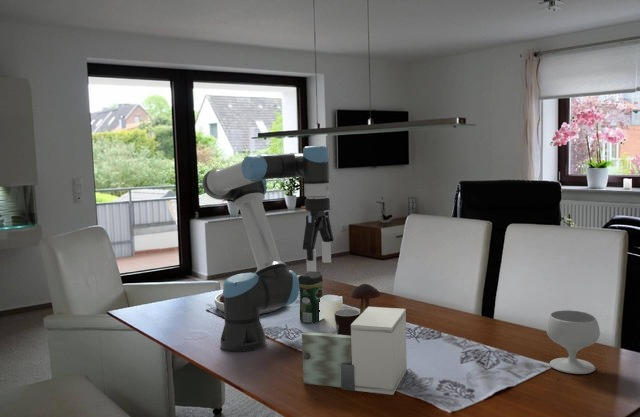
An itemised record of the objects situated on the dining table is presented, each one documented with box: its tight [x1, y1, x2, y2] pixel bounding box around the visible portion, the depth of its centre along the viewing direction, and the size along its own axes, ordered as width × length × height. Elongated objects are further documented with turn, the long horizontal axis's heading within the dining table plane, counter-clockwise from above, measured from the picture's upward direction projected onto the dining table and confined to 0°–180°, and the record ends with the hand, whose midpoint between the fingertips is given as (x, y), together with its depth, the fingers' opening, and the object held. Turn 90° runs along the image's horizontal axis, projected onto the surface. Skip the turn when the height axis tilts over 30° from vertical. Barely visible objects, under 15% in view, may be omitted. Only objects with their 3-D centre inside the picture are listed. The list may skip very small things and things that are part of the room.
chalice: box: [545, 309, 601, 375], centre depth 164 cm, size 14×14×15 cm
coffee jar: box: [297, 271, 324, 325], centre depth 217 cm, size 10×8×19 cm
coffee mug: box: [334, 308, 360, 336], centre depth 194 cm, size 12×9×10 cm
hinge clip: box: [341, 363, 356, 392], centre depth 156 cm, size 4×6×9 cm
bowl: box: [214, 292, 282, 315], centre depth 241 cm, size 30×30×8 cm
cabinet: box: [351, 306, 408, 396], centre depth 160 cm, size 11×18×18 cm, turn 160°
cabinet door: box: [301, 331, 352, 388], centre depth 157 cm, size 14×3×14 cm, turn 70°
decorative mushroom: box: [350, 283, 381, 315], centre depth 211 cm, size 11×11×15 cm
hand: (319, 266), depth 176 cm, fingers open, 13 cm apart
